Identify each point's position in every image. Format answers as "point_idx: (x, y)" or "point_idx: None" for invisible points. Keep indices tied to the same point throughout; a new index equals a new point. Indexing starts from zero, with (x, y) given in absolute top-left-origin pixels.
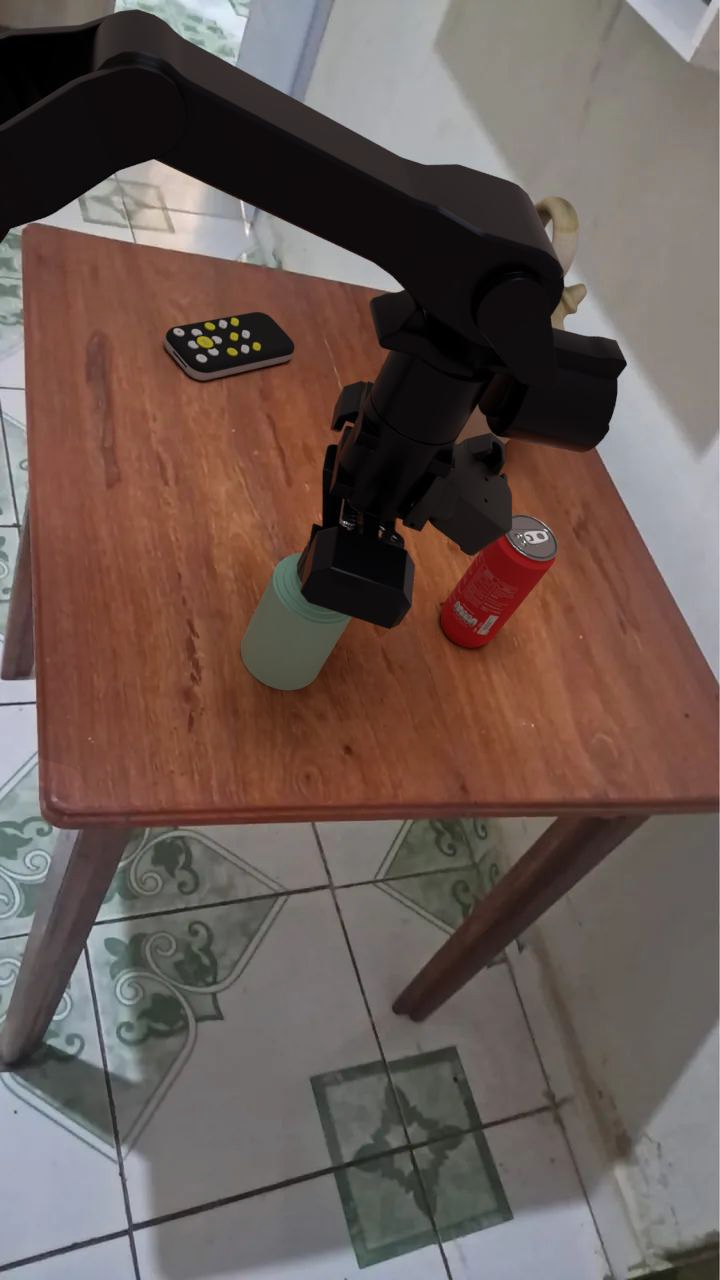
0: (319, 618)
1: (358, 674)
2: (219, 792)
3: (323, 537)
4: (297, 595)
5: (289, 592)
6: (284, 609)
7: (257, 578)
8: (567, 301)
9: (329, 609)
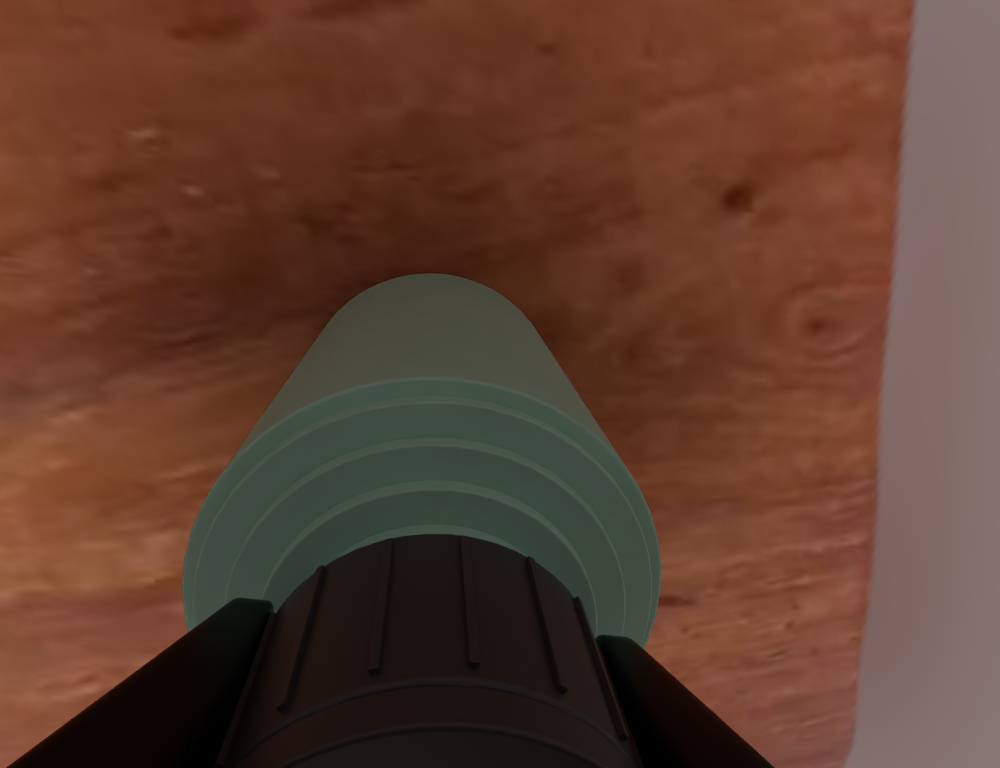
0: (648, 605)
1: (453, 132)
2: (843, 533)
3: None
4: None
5: None
6: None
7: (145, 465)
8: None
9: (601, 574)
